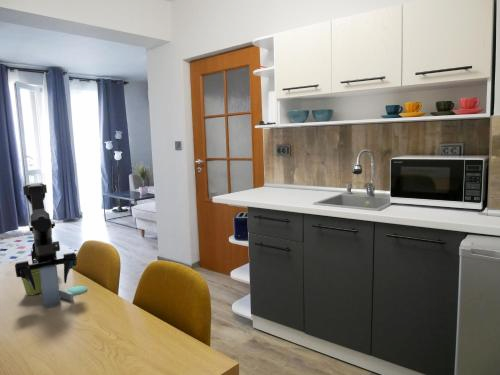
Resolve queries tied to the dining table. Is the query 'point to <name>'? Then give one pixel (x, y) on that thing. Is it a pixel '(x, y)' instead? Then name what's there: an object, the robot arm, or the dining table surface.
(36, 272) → the plant pot
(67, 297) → the acrylic wall
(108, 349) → the dining table surface
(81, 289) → the coaster
